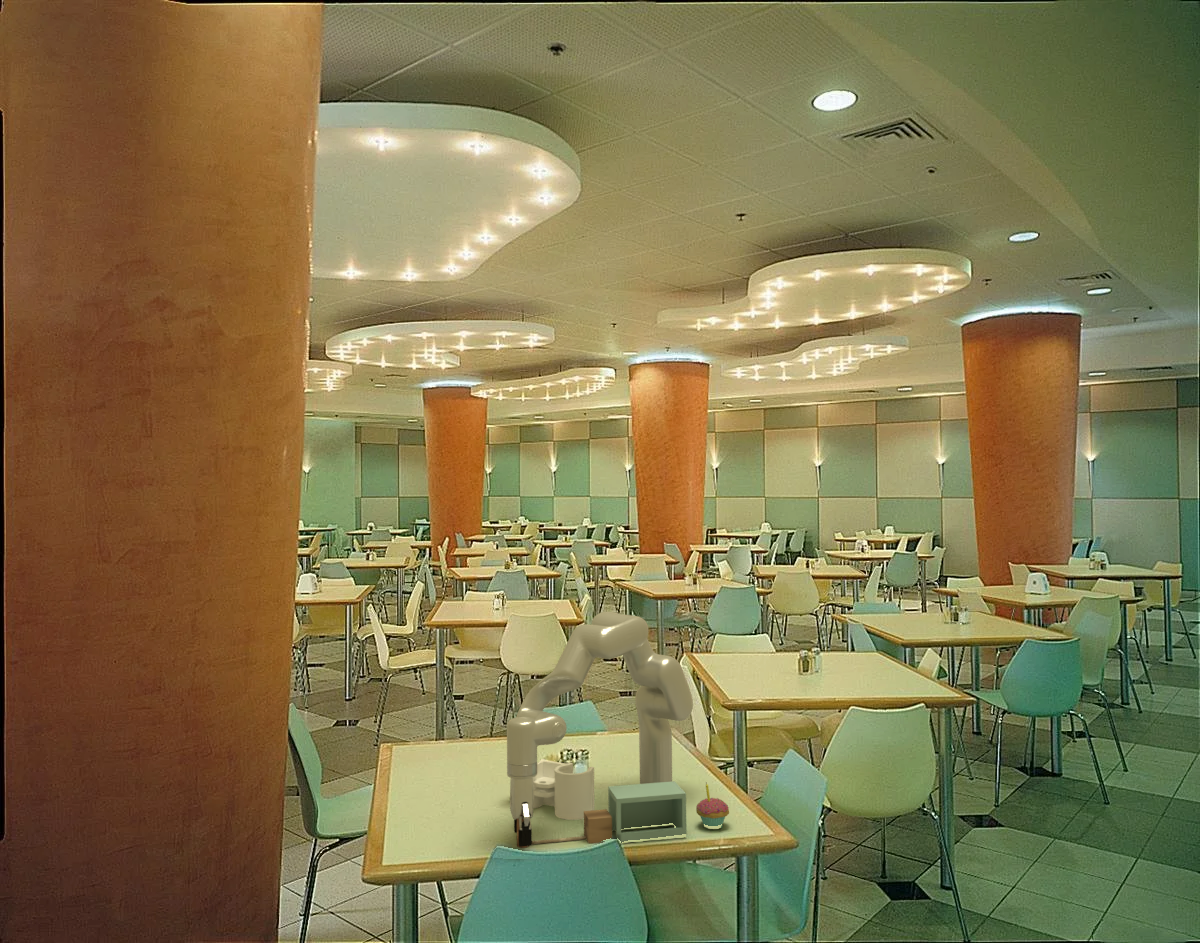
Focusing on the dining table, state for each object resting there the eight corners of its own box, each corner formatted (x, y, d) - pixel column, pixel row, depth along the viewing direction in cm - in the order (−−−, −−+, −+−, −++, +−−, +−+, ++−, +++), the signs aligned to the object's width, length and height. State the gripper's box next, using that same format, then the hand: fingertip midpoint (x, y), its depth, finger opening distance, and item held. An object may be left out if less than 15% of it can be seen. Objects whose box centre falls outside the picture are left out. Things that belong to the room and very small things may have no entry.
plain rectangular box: (608, 830, 234) (608, 786, 234) (675, 824, 238) (674, 781, 238) (617, 844, 224) (616, 799, 224) (686, 838, 228) (685, 793, 228)
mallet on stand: (515, 841, 227) (515, 813, 227) (606, 832, 232) (606, 805, 232) (518, 850, 221) (518, 821, 221) (612, 841, 226) (611, 813, 226)
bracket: (504, 806, 253) (504, 763, 253) (525, 796, 261) (524, 754, 262) (578, 822, 240) (578, 776, 240) (598, 811, 248) (597, 767, 248)
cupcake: (711, 835, 230) (711, 787, 230) (689, 825, 236) (688, 779, 237) (736, 827, 235) (735, 781, 235) (713, 818, 241) (712, 773, 242)
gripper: (503, 759, 232) (504, 827, 232) (511, 780, 215) (511, 853, 215) (532, 757, 234) (533, 825, 234) (542, 778, 217) (542, 850, 217)
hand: (522, 838), depth 224 cm, fingers open, 8 cm apart
